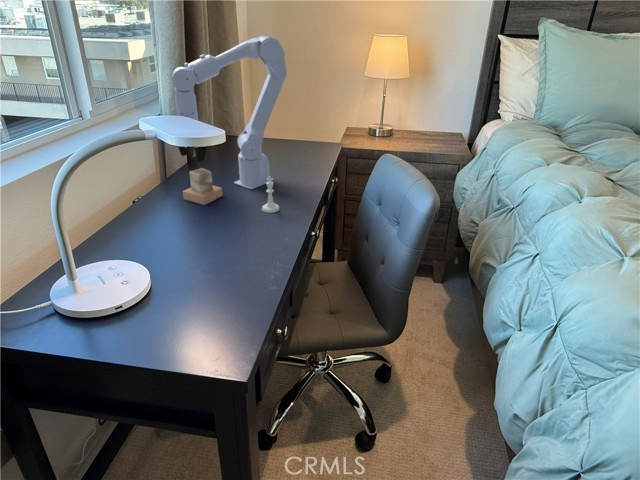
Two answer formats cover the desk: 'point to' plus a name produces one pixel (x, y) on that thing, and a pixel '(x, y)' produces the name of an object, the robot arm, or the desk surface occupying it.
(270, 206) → the chess piece
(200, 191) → the metal block
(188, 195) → the block
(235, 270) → the desk surface
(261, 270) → the desk surface
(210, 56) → the robot arm
